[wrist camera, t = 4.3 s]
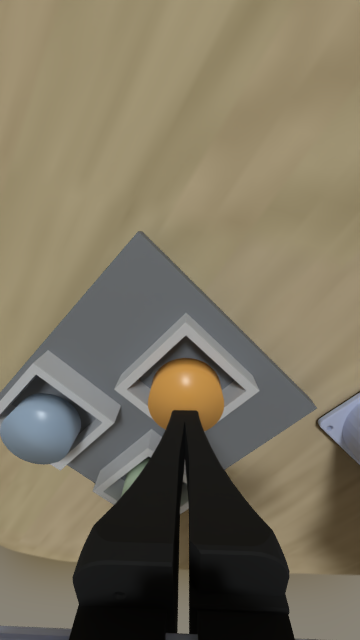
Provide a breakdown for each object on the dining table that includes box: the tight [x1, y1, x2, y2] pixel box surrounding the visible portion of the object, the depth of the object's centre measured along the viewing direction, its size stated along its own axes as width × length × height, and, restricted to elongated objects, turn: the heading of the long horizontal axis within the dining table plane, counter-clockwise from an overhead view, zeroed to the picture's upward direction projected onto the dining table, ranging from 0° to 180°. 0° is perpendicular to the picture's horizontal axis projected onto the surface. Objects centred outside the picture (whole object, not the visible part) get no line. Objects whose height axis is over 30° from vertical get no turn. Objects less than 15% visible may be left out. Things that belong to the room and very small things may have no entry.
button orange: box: [148, 358, 224, 431], centre depth 15 cm, size 5×5×2 cm
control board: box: [0, 231, 317, 514], centre depth 19 cm, size 18×19×3 cm
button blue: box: [0, 393, 81, 464], centre depth 17 cm, size 5×5×2 cm
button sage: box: [121, 459, 150, 497], centre depth 20 cm, size 5×5×2 cm
